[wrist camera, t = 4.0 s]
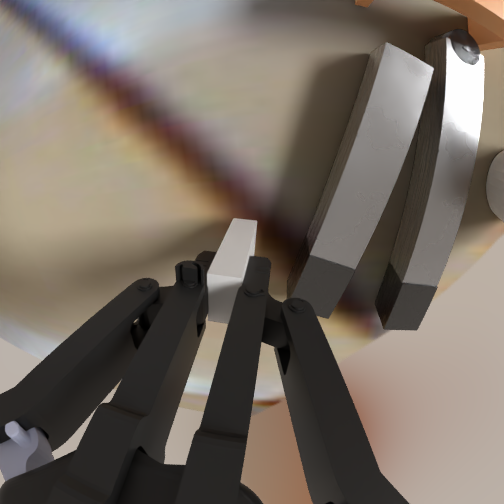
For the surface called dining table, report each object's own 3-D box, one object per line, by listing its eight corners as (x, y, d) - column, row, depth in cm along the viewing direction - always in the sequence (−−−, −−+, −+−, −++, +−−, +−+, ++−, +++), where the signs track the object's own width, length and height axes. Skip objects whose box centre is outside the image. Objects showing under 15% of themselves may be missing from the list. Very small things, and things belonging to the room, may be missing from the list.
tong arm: (370, 52, 13) (387, 41, 10) (412, 73, 13) (434, 68, 10) (287, 281, 21) (286, 307, 18) (324, 291, 21) (328, 318, 18)
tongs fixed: (424, 30, 11) (446, 20, 8) (459, 46, 11) (483, 40, 8) (374, 303, 21) (383, 329, 18) (405, 305, 21) (417, 330, 18)
